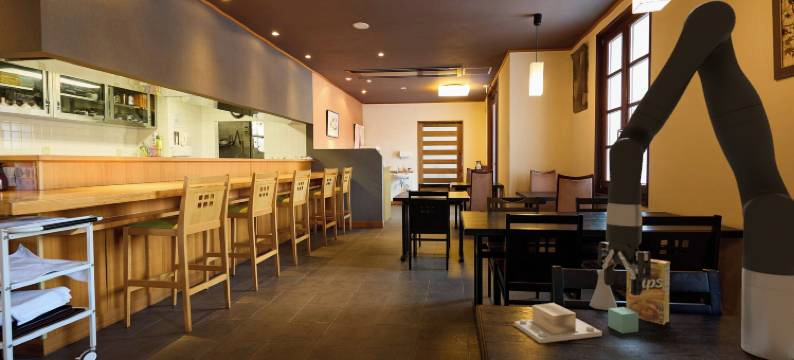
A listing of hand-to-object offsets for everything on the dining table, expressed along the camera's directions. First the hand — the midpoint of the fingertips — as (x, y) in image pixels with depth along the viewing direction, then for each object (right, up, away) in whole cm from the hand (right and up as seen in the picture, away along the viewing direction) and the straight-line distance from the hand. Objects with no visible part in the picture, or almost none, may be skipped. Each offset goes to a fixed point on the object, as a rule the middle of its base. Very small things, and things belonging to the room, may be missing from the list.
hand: (621, 289), depth 102 cm
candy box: (+10, -9, +6) cm, 15 cm away
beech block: (-17, -8, -1) cm, 19 cm away
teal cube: (0, -10, 0) cm, 10 cm away
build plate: (-16, -9, -1) cm, 19 cm away
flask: (+3, -9, +16) cm, 19 cm away
